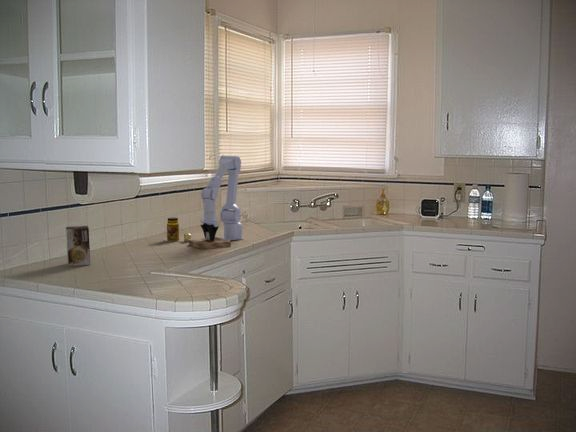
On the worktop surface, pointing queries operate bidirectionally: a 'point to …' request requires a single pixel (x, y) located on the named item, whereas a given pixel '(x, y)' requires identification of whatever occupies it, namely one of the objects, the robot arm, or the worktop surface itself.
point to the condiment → (172, 230)
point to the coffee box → (78, 245)
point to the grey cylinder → (208, 237)
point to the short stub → (187, 237)
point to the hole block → (209, 243)
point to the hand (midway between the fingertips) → (209, 239)
